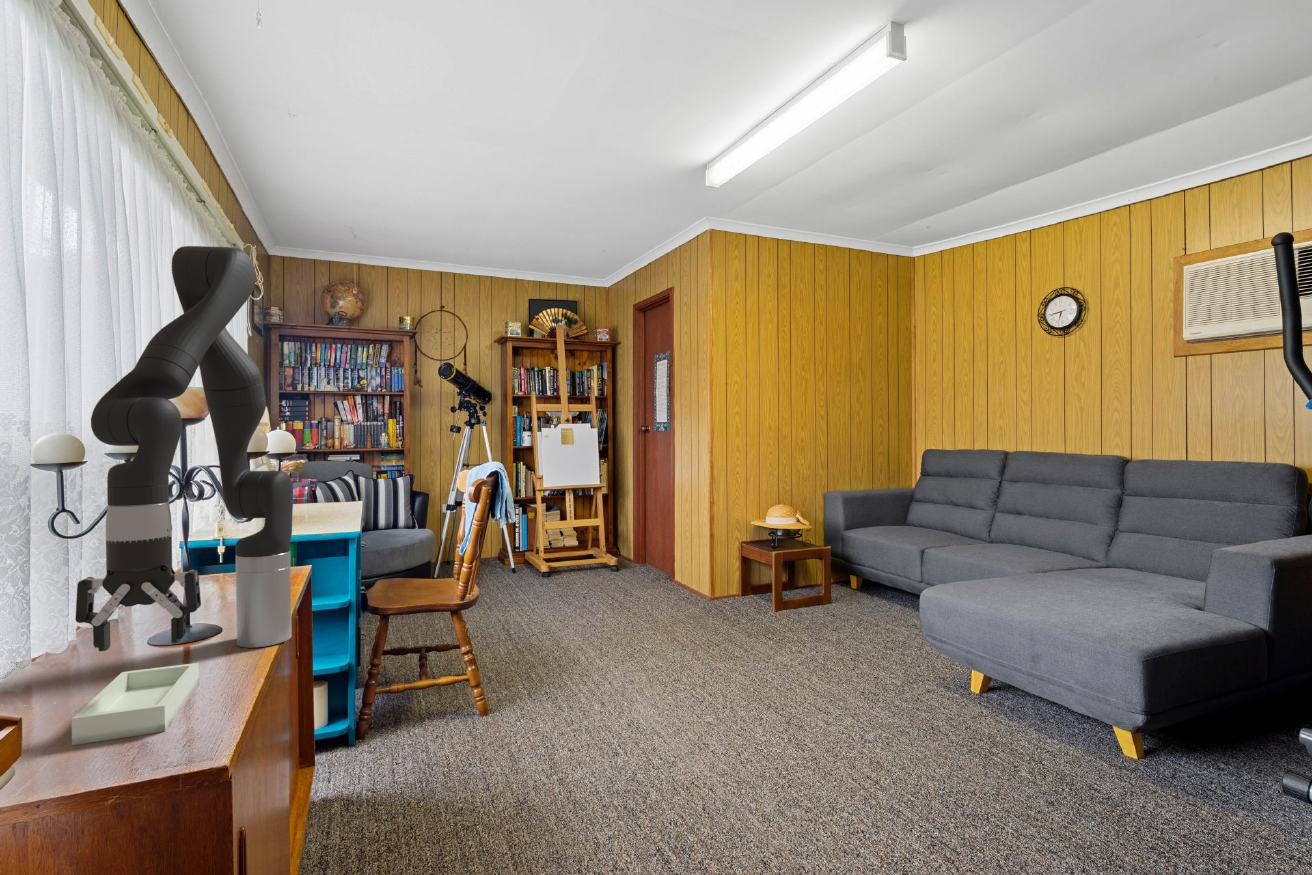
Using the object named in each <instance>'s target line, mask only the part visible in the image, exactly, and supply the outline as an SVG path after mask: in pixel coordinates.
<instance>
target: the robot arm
mask: <svg viewBox="0 0 1312 875" xmlns="http://www.w3.org/2000/svg"><path fill="white" fill-rule="evenodd" d="M171 274H172V279H173V283H174V288H175V290H176V294H177V296H178V300H179V302H180V305H181V306H180V307H181V308H182V309H181V310H182V311H183V312H182V314H181V315H179V316H178V317H176V318H175V319H173V320H172V321H170V322H169V323H167V324H166V325H165V326H164V327H162V328H161V329H160V330H159V331H158V332H156V333H155V335H154V336H153V337H152V338H151V339H150V340H149V342H148V344H147V345H146V347H145V348H144V349H143V352H142V354H141V355H140V356H139V359H138V360H137V362H136V364H135V366H134V368H133V369H131V371H130V372H128V373H127V374H125V375H124V376H123V377H122V378H120V379H119V381H118V382H116V384H115V385H113V386H112V387H110V389H109V390H108V391H106V393H104V395H102V396H101V398H100V399H99V400H98V401H97V403H96V404H95V406H94V408H93V411H92V412H91V413H92V414H91V417H90V427H91V431H92V433H93V435H94V437H95V438H96V439H97V440H98V441H99V442H101V443H102V444H105V445H109V446H114V447H115V446H116V447H134V446H135V447H136V446H138V447H137V450H136V452H135V455H134V457H133V458H132V459H131V460H130V461H127V462H126V461H125V462H122V463H117V464H114V465H113V466H112V467H110V468H109V470H108V472H107V478H106V479H107V484H106V485H107V486H106V487H107V488H106V490H107V492H106V494H107V495H106V496H107V498H106V499H107V511H106V517H105V558H106V560H105V561H106V562H105V563H106V565H105V568H106V574H105V577H103V578H94V577H93V576H88V577H86V578H83V579H81V580H79V581H78V582H77V585H76V602H75V603H76V604H75V622H77V623H79V624H82V623H85V624H90V625H91V627H92V639H93V646H94V648H95V649H98V652H106V651H107V650H109V649H110V647H111V621H108V620H109V618H110V617H111V616H112V615H113V614H114V613H115V612H116V611H117V609H119V608H120V606H124V607H125V608H126V607H127V608H128V607H135V606H138V605H141V606H149V605H151V606H152V605H153V604H155V603H157V605H159V606H160V607H161V608H163V609H165V610H166V611H167V612H168V613H169V614H170V615H171V616H172V618H171V619H170V625H171V626H170V637H171V640H170V641H171V644H179V643H180V642H181V640H182V639H183V638H184V637H185V635H186V633H187V620H186V619H187V615H188V614H191V613H194V612H196V611H198V609H200V608H201V606H202V600H201V599H202V598H201V589H200V588H201V587H200V577H199V576H200V575H199V571H198V570H197V569H191V570H189V571H183V572H175V571H174V568H173V534H172V533H173V524H172V513H171V509H170V502H169V501H170V491H169V490H170V483H169V478H170V477H169V476H170V471H171V468H172V465H173V461H174V457H175V455H176V451H177V448H178V445H179V441H180V438H181V435H182V432H183V431H182V430H183V419H182V415H181V412H180V410H179V408H178V407H177V406H176V405H175V403H173V402H172V401H171V399H172V400H173V399H177V398H178V397H181V396H182V395H183V394H184V393H185V392H186V390H188V389H187V388H188V387H189V385H190V383H191V381H192V379H193V377H194V376H195V374H196V372H197V369H198V368H199V372H200V378H201V382H202V383H201V384H202V387H203V393H204V398H205V400H206V405H207V406H206V407H207V409H208V412H209V415H210V416H209V418H210V420H211V425H212V429H213V433H214V438H215V443H216V448H217V456H218V463H219V464H218V465H219V472H220V479H221V488H222V496H223V501H224V505H225V507H226V509H227V512H228V513H229V515H231V516H232V517H233V518H235V519H265V520H264V524H263V525H264V526H263V527H262V529H260V530H259V531H257V532H256V533H253V534H251V535H247V536H245V537H242V538H240V539H237V541H236V543H235V548H234V549H235V550H234V551H235V597H236V598H235V599H236V600H235V601H236V602H235V605H236V608H235V609H236V611H235V612H236V645H237V646H238V647H241V648H248V649H249V648H261V647H268V646H274V645H276V644H277V645H278V644H281V643H283V642H286V641H288V640H290V639H292V631H293V630H292V578H291V576H292V575H291V572H292V570H291V568H292V567H291V540H292V534H293V511H294V510H293V509H294V485H293V480H292V479H291V476H290V474H289V473H288V472H286V471H283V470H250V468H249V463H248V447H249V444H250V441H251V440H252V437H253V436H254V434H255V431H256V430H257V428H258V427H259V425H260V423H261V422H262V421H261V420H262V418H263V416H264V414H265V412H266V408H267V399H266V395H265V394H266V393H265V389H264V384H263V378H262V375H261V374H262V373H261V371H260V370H259V367H258V366H257V364H256V362H255V361H254V360H253V359H252V357H250V355H249V354H248V353H247V352H246V351H245V350H244V349H243V347H242V346H241V345H240V344H239V342H237V340H235V338H234V337H233V336H232V335H231V334H230V332H229V331H228V330H227V328H226V327H227V325H229V323H230V322H231V321H232V320H233V318H234V317H235V316H236V314H237V313H238V312H239V311H240V310H241V308H242V307H243V306H244V304H245V303H246V302H247V300H249V298H250V297H251V295H252V293H253V291H254V289H255V285H256V279H257V276H256V275H257V274H256V269H255V265H254V263H253V261H252V259H251V257H250V255H248V254H247V253H246V252H245V251H244V250H242V249H241V248H240V249H239V248H236V247H231V246H202V245H200V246H199V245H198V246H197V245H196V246H195V245H184V246H183V245H182V246H180V247H178V248H177V249H176V250H175V251H174V252H173V255H172V259H171ZM176 581H177V582H179V585H180V586H181V587H182V588H183V587H184V588H185V597H186V598H185V599H186V604H183V603H182V602H181V601H180V599H179V598H178V596H177V594H175V593H174V592H173V591H172V590H171V589H170V588H171V587H172V586H173V585H174V583H175V582H176ZM102 587H103V589H104V590H105V591H106V592H107V593H108V594H109V595H110V598H109V599H108V600H107V601H106V602H105V603H104V605H103V606H102V607H101V609H100V610H99V611H98V612H96V611H94V609H95V608H94V606H95V594H96V593H98V592H99V591H100V590H101V588H102Z"/></svg>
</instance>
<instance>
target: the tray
mask: <svg viewBox="0 0 1312 875" xmlns="http://www.w3.org/2000/svg"><path fill="white" fill-rule="evenodd" d="M199 686H200V662H195V663H194V662H193V663H186V664H179V665H178V664H177V665H171V666H170V665H169V666H161V667H153V668H144V669H136V670H135V669H134V670H129V671H122V672H120V674H118V675H117V676H116V677H115V678H114V679H112V681H111V682H110V683H108V684H107V686H105V687H104V688H103V689H102V690H101V691H100V692H98V694H97V695H96V696H94V697H93V698H92V699H91V700H90V701H89V702H87V704H85V706H84V707H82V708H81V709H80V710H79V711H78V712H77V713H76V714H75V715H74V716H73V717H71V745H72V746H77V745H83V744H84V745H85V744H90V743H97V742H98V743H99V742H104V741H110V740H117V739H124V738H130V737H136V736H138V737H139V736H142V735H143V736H144V735H149V734H150V735H151V734H154V733H155V734H156V733H163V732H166V731H167V730H168V729H169V727H170V725H171V724H172V723H173V722H174V720H175V718H176V717H177V715H179V713H180V712H181V710H182V709H183V708H184V707H185V705H186V703H187V702H188V700H190V698H191V697H192V695H193V694H194V692H195V691H196V689H197V688H198V687H199Z"/></svg>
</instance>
